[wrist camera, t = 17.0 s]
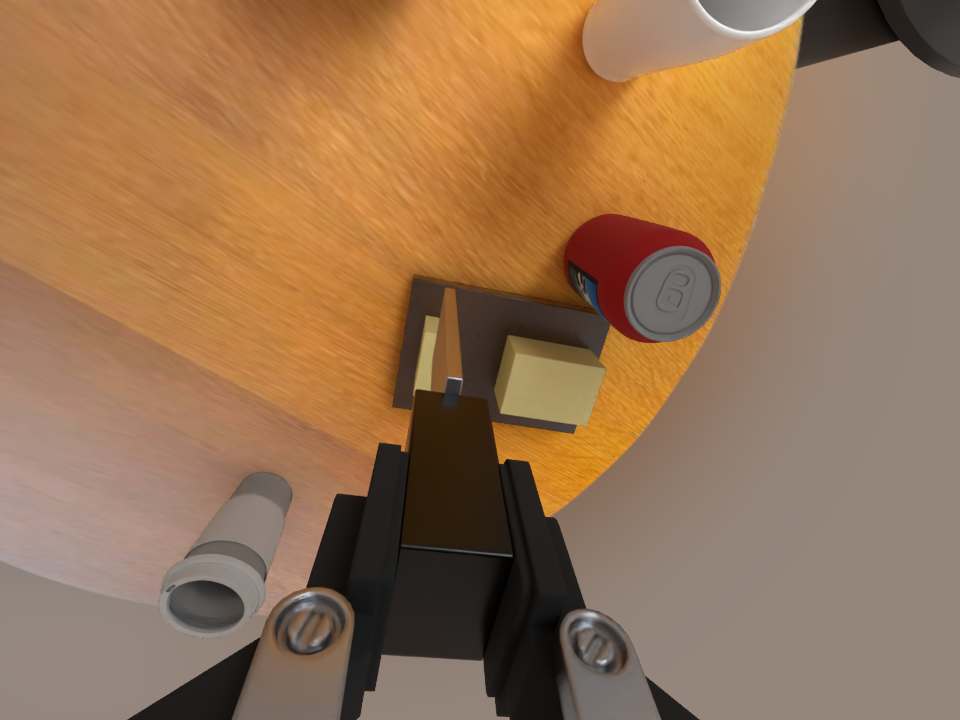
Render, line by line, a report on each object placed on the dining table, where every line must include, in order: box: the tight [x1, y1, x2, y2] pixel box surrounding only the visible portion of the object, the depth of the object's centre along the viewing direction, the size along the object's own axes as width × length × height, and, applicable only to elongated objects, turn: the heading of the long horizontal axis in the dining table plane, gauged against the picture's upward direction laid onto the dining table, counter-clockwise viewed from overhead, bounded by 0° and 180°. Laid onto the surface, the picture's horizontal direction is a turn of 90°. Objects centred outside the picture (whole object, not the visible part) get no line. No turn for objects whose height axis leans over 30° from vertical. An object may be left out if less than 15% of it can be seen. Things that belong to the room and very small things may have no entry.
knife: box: [381, 287, 515, 661], centre depth 16 cm, size 2×4×16 cm, turn 168°
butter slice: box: [413, 316, 440, 396], centre depth 35 cm, size 2×5×4 cm, turn 167°
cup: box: [159, 472, 292, 639], centre depth 37 cm, size 7×7×12 cm
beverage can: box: [564, 214, 721, 343], centre depth 31 cm, size 7×7×12 cm
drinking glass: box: [582, 0, 817, 82], centre depth 24 cm, size 7×7×15 cm
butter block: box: [494, 335, 606, 426], centre depth 36 cm, size 7×5×4 cm
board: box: [393, 275, 610, 434], centre depth 38 cm, size 16×11×2 cm
